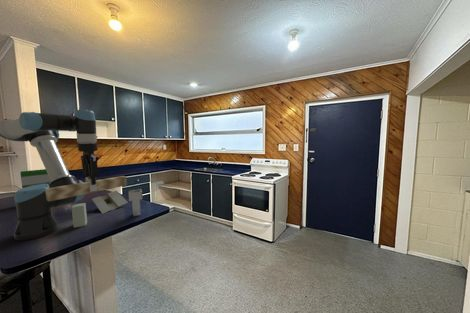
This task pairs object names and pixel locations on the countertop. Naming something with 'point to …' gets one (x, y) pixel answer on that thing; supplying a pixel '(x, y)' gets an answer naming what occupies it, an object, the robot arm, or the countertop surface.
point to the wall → (109, 201)
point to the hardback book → (34, 177)
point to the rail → (83, 188)
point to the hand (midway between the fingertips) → (91, 190)
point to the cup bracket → (135, 200)
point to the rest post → (79, 215)
